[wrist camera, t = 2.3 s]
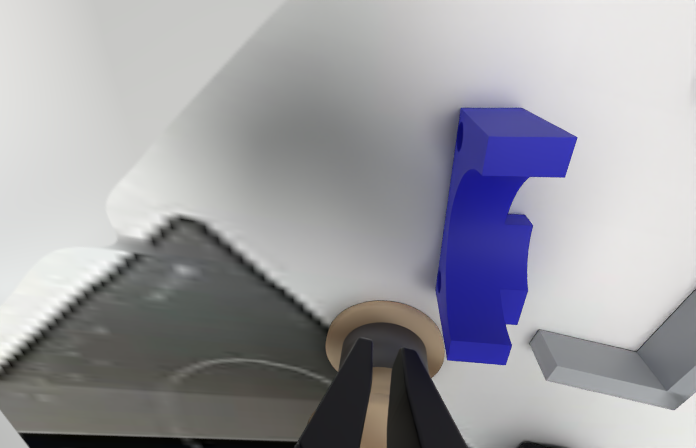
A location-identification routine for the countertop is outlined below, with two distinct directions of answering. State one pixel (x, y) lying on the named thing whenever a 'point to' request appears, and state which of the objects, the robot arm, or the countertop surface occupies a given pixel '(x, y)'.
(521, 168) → the cable clip
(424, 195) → the countertop surface
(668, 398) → the gray u-shaped bracket
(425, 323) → the bobbin
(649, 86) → the countertop surface
